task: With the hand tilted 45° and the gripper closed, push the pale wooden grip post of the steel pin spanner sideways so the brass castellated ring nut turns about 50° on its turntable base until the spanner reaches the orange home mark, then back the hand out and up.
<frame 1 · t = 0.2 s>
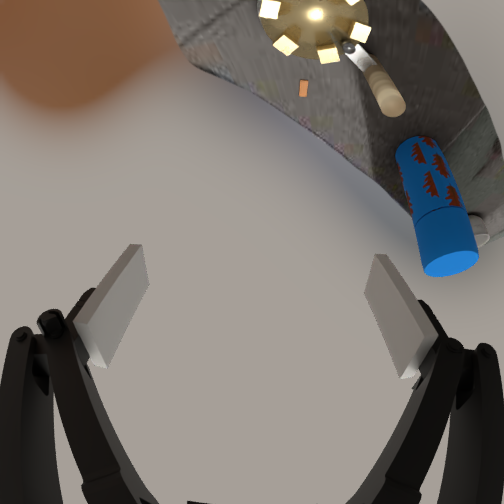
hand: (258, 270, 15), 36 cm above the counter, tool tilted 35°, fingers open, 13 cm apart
thermos: (417, 153, 49), on the counter
teacup: (464, 221, 67), on the counter
ring nut: (338, 38, 25), point 8 cm above the counter, hinge at 0.0°
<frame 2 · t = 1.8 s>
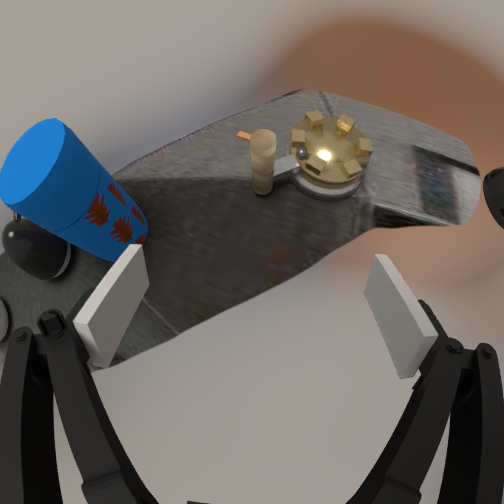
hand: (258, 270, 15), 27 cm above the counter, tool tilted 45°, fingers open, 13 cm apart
thermos: (121, 233, 45), on the counter
teacup: (0, 314, 42), on the counter
ring nut: (313, 146, 39), point 8 cm above the counter, hinge at 0.0°
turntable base: (323, 165, 47), on the counter
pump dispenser: (59, 256, 44), on the counter
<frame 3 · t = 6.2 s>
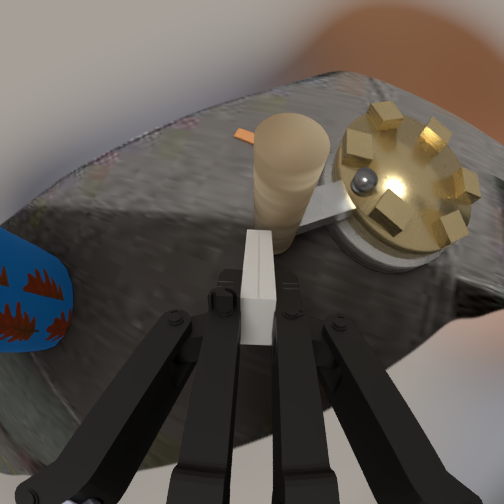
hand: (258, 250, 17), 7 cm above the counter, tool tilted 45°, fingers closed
thermos: (39, 301, 23), on the counter
ring nut: (389, 171, 18), point 8 cm above the counter, hinge at -2.9°, touching gripper
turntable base: (385, 203, 25), on the counter
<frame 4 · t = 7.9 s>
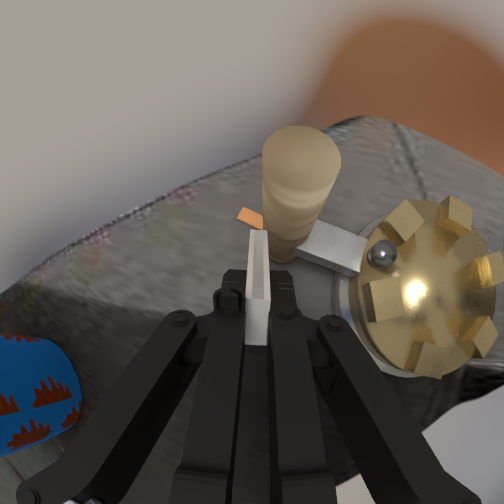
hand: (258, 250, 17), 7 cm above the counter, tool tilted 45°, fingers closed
thermos: (47, 384, 22), on the counter
ring nut: (412, 263, 16), point 8 cm above the counter, hinge at -44.2°, touching gripper
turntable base: (403, 296, 23), on the counter
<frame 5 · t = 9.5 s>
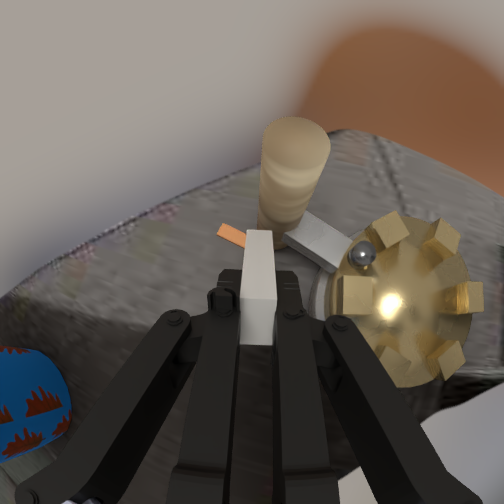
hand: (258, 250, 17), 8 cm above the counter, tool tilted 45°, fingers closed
thermos: (38, 394, 21), on the counter
ring nut: (389, 269, 17), point 8 cm above the counter, hinge at -57.4°
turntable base: (380, 308, 24), on the counter
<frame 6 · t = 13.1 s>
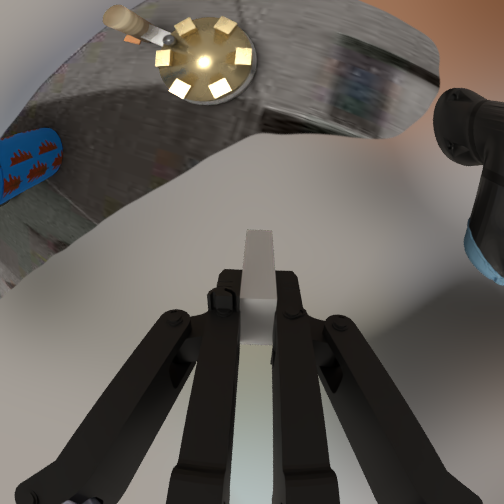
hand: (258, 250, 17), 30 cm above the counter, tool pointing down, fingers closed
thermos: (45, 152, 43), on the counter
ring nut: (180, 45, 29), point 8 cm above the counter, hinge at -57.4°
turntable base: (211, 63, 36), on the counter
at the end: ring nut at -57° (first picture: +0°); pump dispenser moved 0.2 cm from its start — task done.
